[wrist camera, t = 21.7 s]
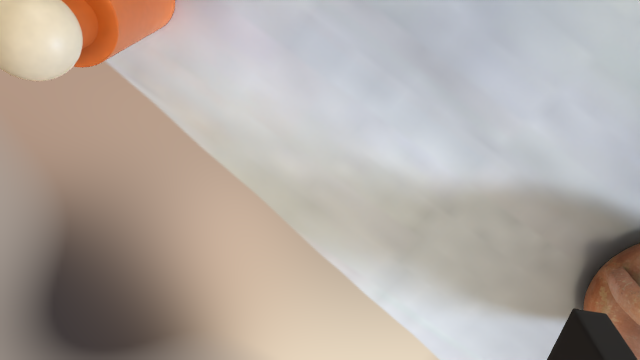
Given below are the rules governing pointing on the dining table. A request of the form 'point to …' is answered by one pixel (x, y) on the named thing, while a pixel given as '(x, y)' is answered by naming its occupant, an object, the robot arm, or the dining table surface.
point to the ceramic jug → (619, 295)
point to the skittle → (72, 32)
